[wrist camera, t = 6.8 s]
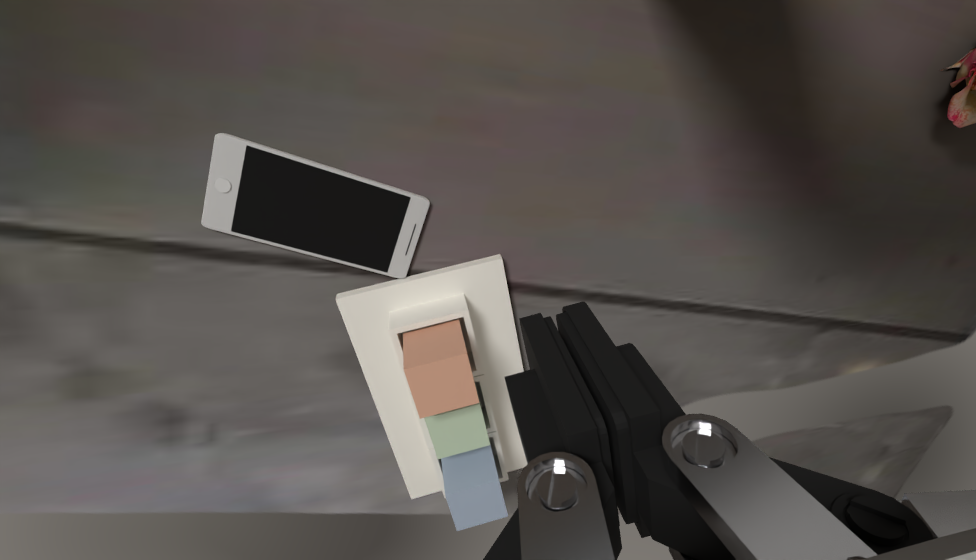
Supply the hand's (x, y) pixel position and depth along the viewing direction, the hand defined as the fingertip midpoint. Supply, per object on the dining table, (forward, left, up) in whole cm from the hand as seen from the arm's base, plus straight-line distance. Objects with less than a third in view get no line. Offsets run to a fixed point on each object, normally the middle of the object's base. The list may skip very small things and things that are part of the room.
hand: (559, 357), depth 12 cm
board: (+5, +20, -27) cm, 34 cm away
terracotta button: (+5, +14, -23) cm, 28 cm away
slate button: (+5, +27, -23) cm, 36 cm away
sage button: (+5, +20, -26) cm, 33 cm away
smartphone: (+11, +1, -28) cm, 30 cm away
